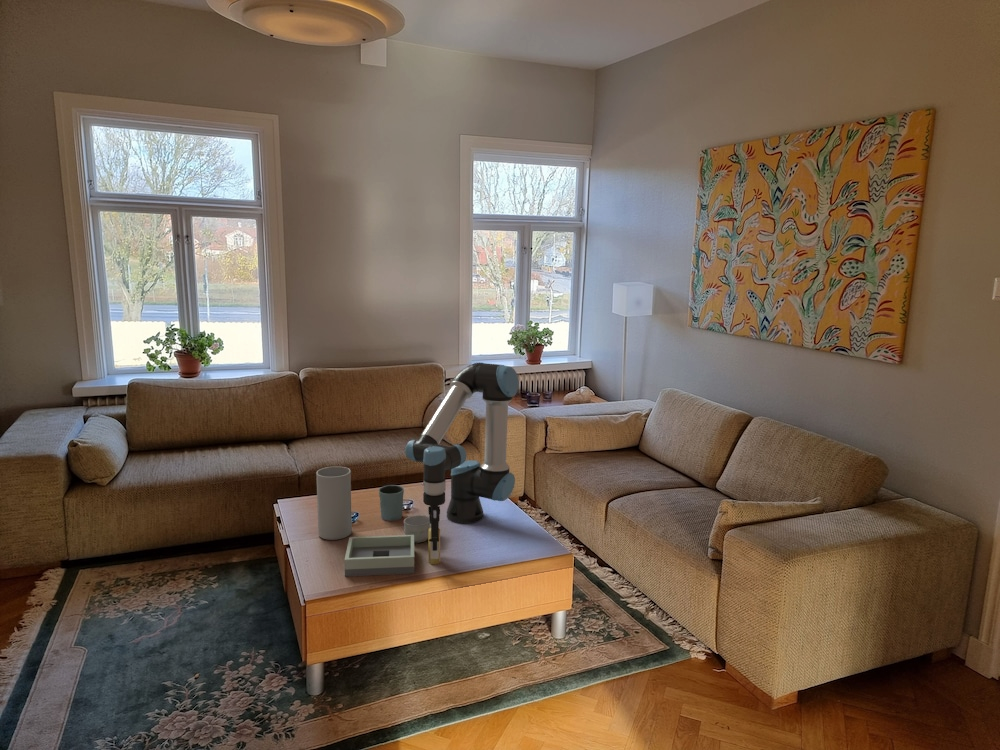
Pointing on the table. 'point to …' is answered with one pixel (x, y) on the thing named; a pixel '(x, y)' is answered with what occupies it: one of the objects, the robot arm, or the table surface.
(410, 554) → the box
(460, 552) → the table surface
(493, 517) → the table surface
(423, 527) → the teacup
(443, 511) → the table surface
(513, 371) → the robot arm
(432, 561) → the peg
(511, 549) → the table surface
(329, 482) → the cylinder vase
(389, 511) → the grey-green cup
